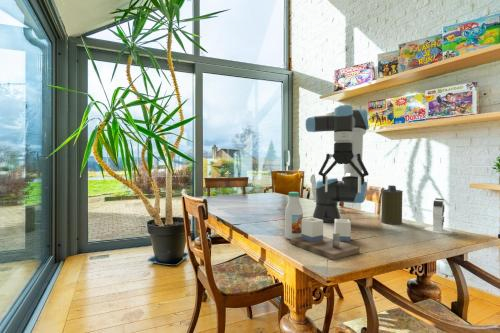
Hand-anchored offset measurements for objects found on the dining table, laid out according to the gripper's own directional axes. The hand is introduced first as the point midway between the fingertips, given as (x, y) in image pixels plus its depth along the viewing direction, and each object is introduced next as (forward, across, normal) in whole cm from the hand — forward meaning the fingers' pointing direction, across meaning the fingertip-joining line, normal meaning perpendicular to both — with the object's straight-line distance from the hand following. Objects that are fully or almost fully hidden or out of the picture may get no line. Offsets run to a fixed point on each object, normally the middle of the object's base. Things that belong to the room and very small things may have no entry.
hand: (342, 192), depth 121 cm
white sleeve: (+20, 0, 0) cm, 20 cm away
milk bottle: (+20, -20, -2) cm, 29 cm away
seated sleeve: (+18, -13, -10) cm, 24 cm away
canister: (+20, +30, +38) cm, 53 cm away
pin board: (+20, -8, -14) cm, 26 cm away
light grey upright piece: (+20, +47, +24) cm, 56 cm away
